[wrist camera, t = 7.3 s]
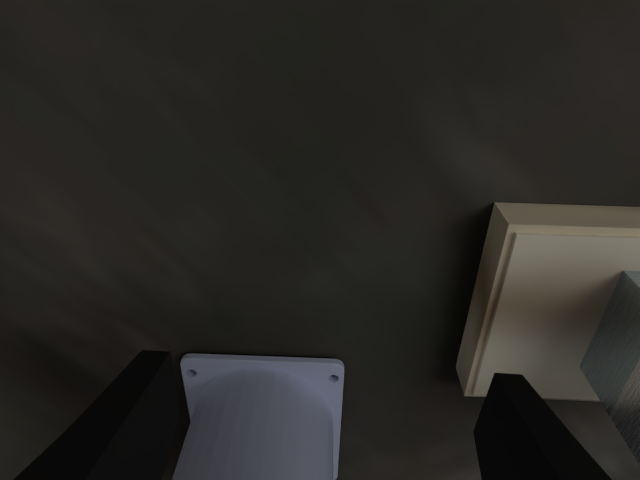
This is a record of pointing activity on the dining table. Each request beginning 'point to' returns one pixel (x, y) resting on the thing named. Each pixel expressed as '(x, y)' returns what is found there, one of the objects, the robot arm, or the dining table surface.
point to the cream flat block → (544, 294)
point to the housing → (619, 359)
